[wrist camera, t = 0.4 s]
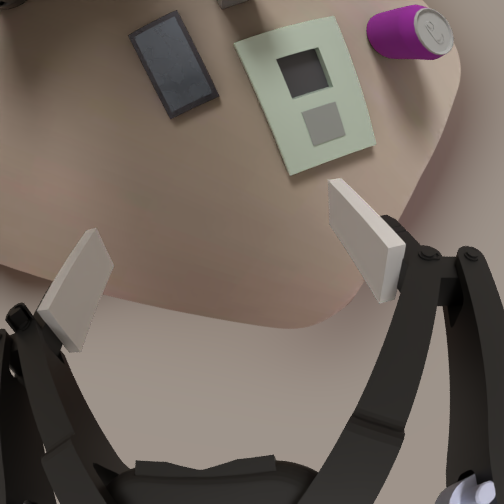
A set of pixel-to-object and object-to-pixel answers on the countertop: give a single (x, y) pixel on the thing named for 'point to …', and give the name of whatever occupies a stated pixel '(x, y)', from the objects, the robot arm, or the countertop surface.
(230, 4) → the brick
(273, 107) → the outlet plate
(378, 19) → the beverage can
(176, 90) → the phone
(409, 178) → the countertop surface
